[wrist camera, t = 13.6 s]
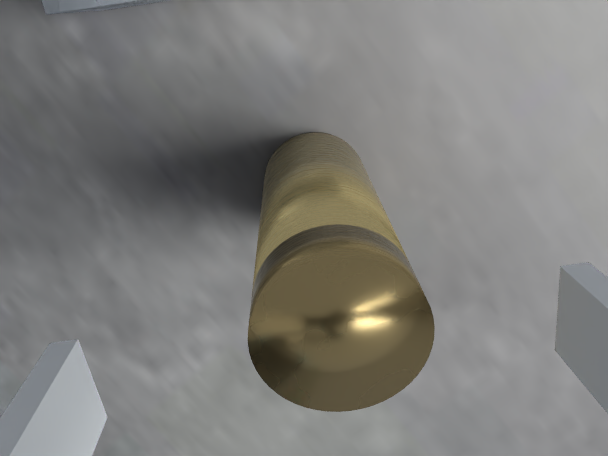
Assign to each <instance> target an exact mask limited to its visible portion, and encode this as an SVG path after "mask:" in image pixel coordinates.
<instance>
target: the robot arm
mask: <svg viewBox="0 0 608 456" xmlns="http://www.w3.org/2000/svg"><path fill="white" fill-rule="evenodd" d="M555 351H556V352H557V353H558V354H559V355H560V357H561V358H562V359H563V360H564V362H565V363H566V364H567V365H568V366H569V368H570V369H571V370H572V371H573V372H574V374H575V375H576V376H577V377H578V378H579V380H580V381H581V382H582V383H583V384H584V386H585V387H586V388H587V389H588V390H589V392H590V393H591V394H592V395H593V397H594V398H595V399H596V400H597V401H598V403H599V404H600V405H601V406H602V407H603V409H604V410H605V411H606V412H607V413H608V277H607V276H605V275H604V274H603V273H602V272H600V271H599V270H598V269H597V268H595V267H594V266H593V265H592V264H590V263H589V262H586V263H579V264H572V265H566V266H560V280H559V295H558V311H557V326H556V341H555ZM106 420H107V415H106V412H105V409H104V407H103V404H102V401H101V399H100V396H99V393H98V391H97V388H96V385H95V383H94V380H93V378H92V375H91V372H90V370H89V367H88V364H87V362H86V359H85V356H84V354H83V351H82V348H81V346H80V343H79V340H78V339H74V340H68V341H61V342H54V343H50V344H49V345H48V347H47V348H46V350H45V351H44V353H43V354H42V356H41V357H40V359H39V360H38V362H37V363H36V365H35V366H34V368H33V369H32V371H31V372H30V374H29V376H28V377H27V379H26V380H25V382H24V383H23V385H22V386H21V388H20V389H19V391H18V392H17V394H16V395H15V397H14V398H13V400H12V401H11V403H10V404H9V406H8V407H7V409H6V410H5V412H4V413H3V415H2V416H1V418H0V456H92V454H93V452H94V449H95V447H96V445H97V442H98V440H99V437H100V435H101V432H102V430H103V427H104V425H105V422H106Z"/></svg>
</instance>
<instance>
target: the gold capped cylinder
mask: <svg viewBox="0 0 608 456" xmlns="http://www.w3.org/2000/svg"><path fill="white" fill-rule="evenodd" d="M433 340H434V319H433V314H432V311H431V308H430V305H429V303H428V301H427V299H426V297H425V295H424V293H423V290H422V288H421V286H420V284H419V282H418V280H417V278H416V276H415V274H414V272H413V269H412V267H411V265H410V263H409V261H408V259H407V257H406V255H405V253H404V250H403V248H402V246H401V244H400V242H399V240H398V238H397V236H396V234H395V232H394V229H393V227H392V225H391V223H390V221H389V219H388V217H387V215H386V213H385V210H384V208H383V206H382V204H381V202H380V200H379V198H378V196H377V194H376V192H375V189H374V187H373V185H372V183H371V181H370V179H369V177H368V175H367V173H366V170H365V168H364V166H363V164H362V162H361V160H360V158H359V156H358V155H357V153H356V152H355V150H354V149H353V148H352V147H351V146H350V145H349V144H348V143H346V142H345V141H343V140H342V139H340V138H338V137H336V136H333V135H330V134H326V133H318V132H313V133H305V134H301V135H298V136H295V137H293V138H291V139H289V140H288V141H286V142H285V143H283V144H282V145H281V146H280V147H279V148H278V149H277V150H276V151H275V152H274V154H273V155H272V157H271V158H270V160H269V162H268V165H267V168H266V171H265V178H264V187H263V196H262V206H261V215H260V225H259V234H258V243H257V253H256V262H255V272H254V281H253V290H252V300H251V309H250V319H249V328H248V347H249V353H250V356H251V359H252V362H253V364H254V367H255V369H256V371H257V372H258V374H259V375H260V377H261V378H262V379H263V381H264V382H265V383H266V384H267V385H268V386H269V387H270V388H271V389H272V390H274V391H275V392H276V393H277V394H279V395H280V396H282V397H283V398H285V399H287V400H289V401H291V402H293V403H295V404H298V405H300V406H303V407H306V408H310V409H315V410H321V411H334V412H341V411H352V410H357V409H362V408H366V407H369V406H373V405H375V404H378V403H380V402H383V401H385V400H387V399H388V398H390V397H392V396H394V395H395V394H397V393H398V392H400V391H401V390H403V389H404V388H405V387H406V386H407V385H408V384H410V383H411V382H412V381H413V379H414V378H415V377H416V376H417V375H418V374H419V372H420V371H421V370H422V368H423V367H424V365H425V363H426V361H427V359H428V357H429V355H430V352H431V349H432V345H433Z"/></svg>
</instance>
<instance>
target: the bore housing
mask: <svg viewBox="0 0 608 456" xmlns="http://www.w3.org/2000/svg"><path fill="white" fill-rule="evenodd" d="M41 1H42V4H43V7H44V10H45V13H46V14H60V13H74V12H88V11H102V10H110V9H117V8H123V7H130V6H136V5H143V4H149V3H156V2H163V1H169V0H41Z"/></svg>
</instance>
